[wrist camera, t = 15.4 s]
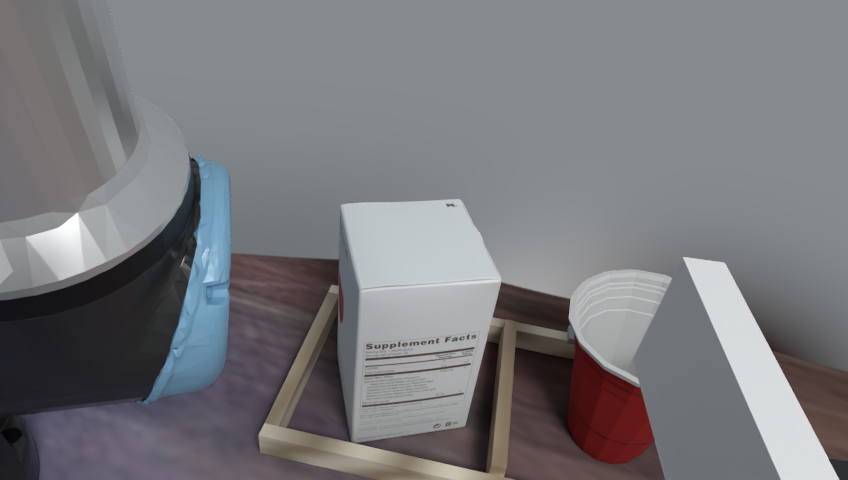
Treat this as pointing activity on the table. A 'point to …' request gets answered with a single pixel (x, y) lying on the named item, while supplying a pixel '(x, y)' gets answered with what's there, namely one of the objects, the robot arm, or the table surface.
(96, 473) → the table surface
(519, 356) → the table surface
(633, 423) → the plastic cup
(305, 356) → the wooden frame
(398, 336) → the supplement box
